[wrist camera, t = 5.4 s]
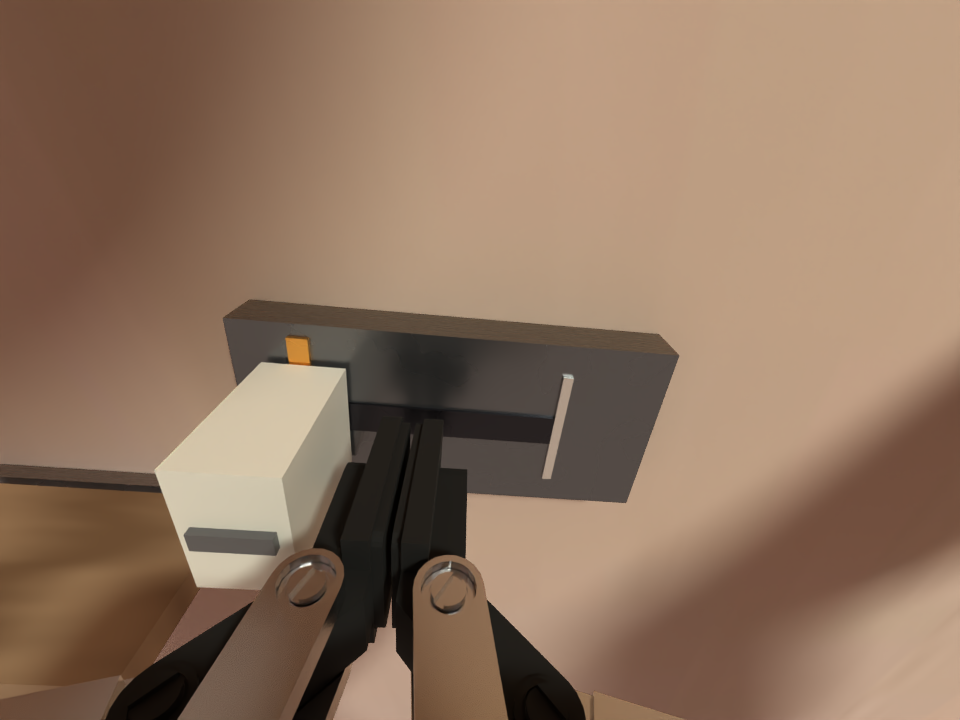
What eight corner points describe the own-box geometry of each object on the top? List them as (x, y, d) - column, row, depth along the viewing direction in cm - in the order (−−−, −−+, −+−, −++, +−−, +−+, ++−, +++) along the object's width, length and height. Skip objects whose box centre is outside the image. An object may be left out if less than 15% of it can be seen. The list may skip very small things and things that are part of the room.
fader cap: (345, 368, 12) (277, 485, 8) (352, 463, 14) (298, 600, 9) (260, 362, 12) (146, 477, 8) (278, 458, 13) (191, 595, 9)
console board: (659, 334, 13) (681, 357, 12) (613, 473, 16) (627, 505, 15) (249, 299, 13) (220, 319, 11) (276, 450, 15) (255, 482, 14)
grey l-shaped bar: (252, 474, 16) (92, 709, 9) (257, 500, 17) (112, 736, 10) (-64, 454, 15) (-473, 689, 9) (-45, 482, 16) (-412, 720, 9)
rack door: (239, 497, 15) (112, 688, 10) (245, 519, 16) (127, 710, 10) (-31, 481, 15) (-318, 671, 9) (-16, 504, 15) (-279, 696, 10)
